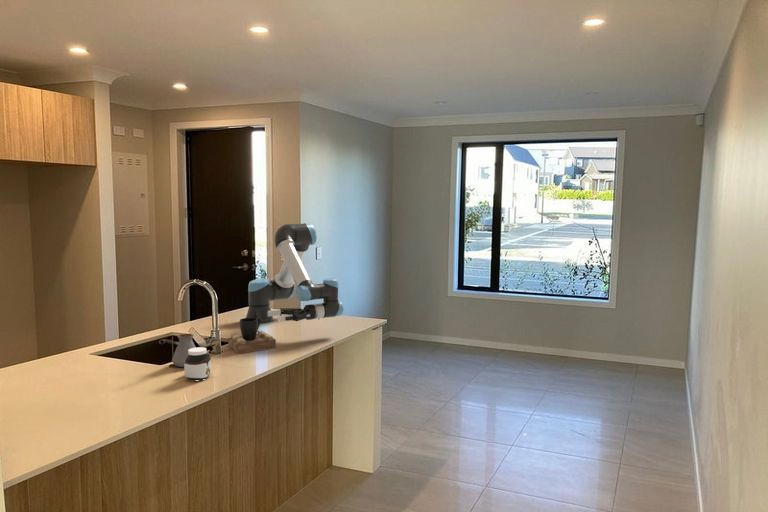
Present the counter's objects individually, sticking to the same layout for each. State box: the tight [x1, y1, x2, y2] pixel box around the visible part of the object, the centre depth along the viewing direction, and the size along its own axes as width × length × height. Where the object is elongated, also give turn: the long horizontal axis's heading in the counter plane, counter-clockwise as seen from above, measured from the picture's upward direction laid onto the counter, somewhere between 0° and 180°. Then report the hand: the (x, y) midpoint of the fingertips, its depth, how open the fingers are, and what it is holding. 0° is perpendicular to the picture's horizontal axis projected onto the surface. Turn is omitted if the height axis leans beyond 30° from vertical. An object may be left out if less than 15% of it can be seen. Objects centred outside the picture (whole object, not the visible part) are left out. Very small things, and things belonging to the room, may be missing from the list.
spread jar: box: [183, 346, 212, 381], centre depth 228 cm, size 12×11×12 cm
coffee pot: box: [159, 333, 197, 368], centre depth 239 cm, size 21×12×15 cm, turn 163°
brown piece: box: [227, 330, 277, 354], centre depth 273 cm, size 15×18×6 cm
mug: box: [239, 317, 261, 341], centre depth 273 cm, size 8×12×10 cm
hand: (273, 316), depth 278 cm, fingers open, 13 cm apart
